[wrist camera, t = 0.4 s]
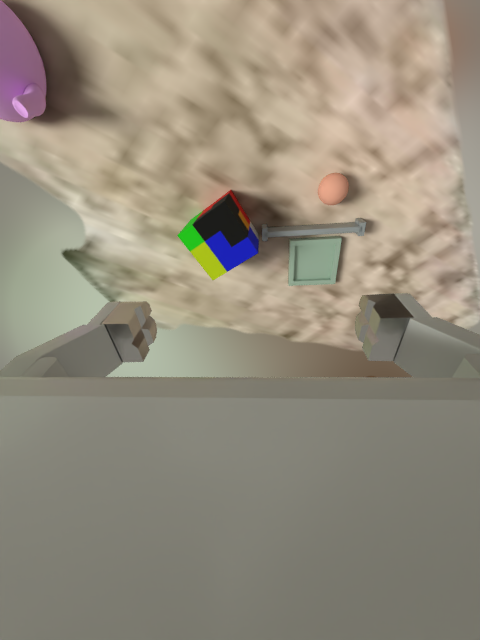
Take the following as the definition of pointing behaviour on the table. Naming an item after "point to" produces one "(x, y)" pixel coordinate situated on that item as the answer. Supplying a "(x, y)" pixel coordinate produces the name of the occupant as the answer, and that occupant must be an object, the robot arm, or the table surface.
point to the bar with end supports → (314, 229)
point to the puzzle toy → (221, 236)
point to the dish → (313, 260)
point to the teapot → (19, 71)
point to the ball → (333, 189)
